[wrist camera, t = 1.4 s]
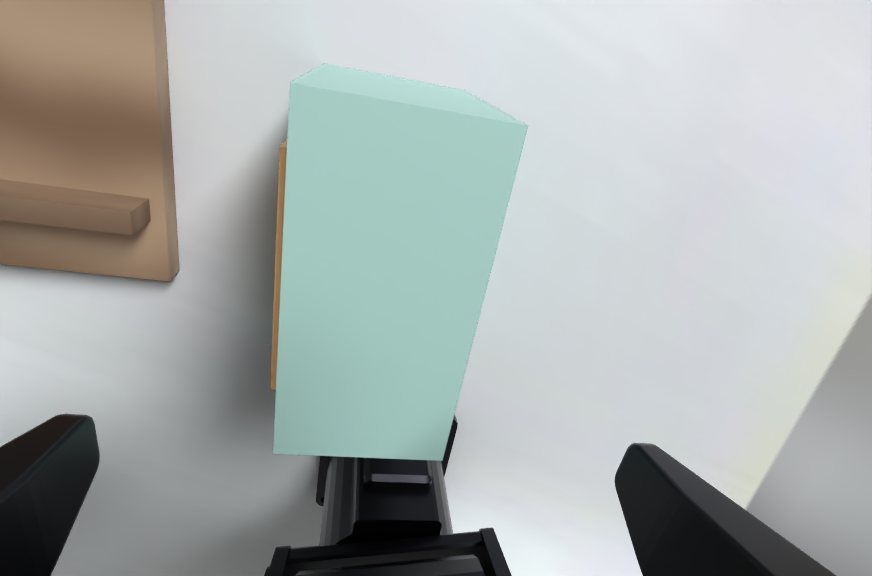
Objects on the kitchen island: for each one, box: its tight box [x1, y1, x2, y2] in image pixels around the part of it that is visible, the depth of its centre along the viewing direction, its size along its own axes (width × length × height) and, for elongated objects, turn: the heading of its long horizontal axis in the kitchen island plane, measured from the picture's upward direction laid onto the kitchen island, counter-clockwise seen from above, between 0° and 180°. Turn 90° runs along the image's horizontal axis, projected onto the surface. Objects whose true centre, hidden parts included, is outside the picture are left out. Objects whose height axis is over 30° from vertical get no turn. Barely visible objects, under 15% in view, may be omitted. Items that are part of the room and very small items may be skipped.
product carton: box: [270, 63, 528, 461], centre depth 16 cm, size 10×5×8 cm, turn 170°
